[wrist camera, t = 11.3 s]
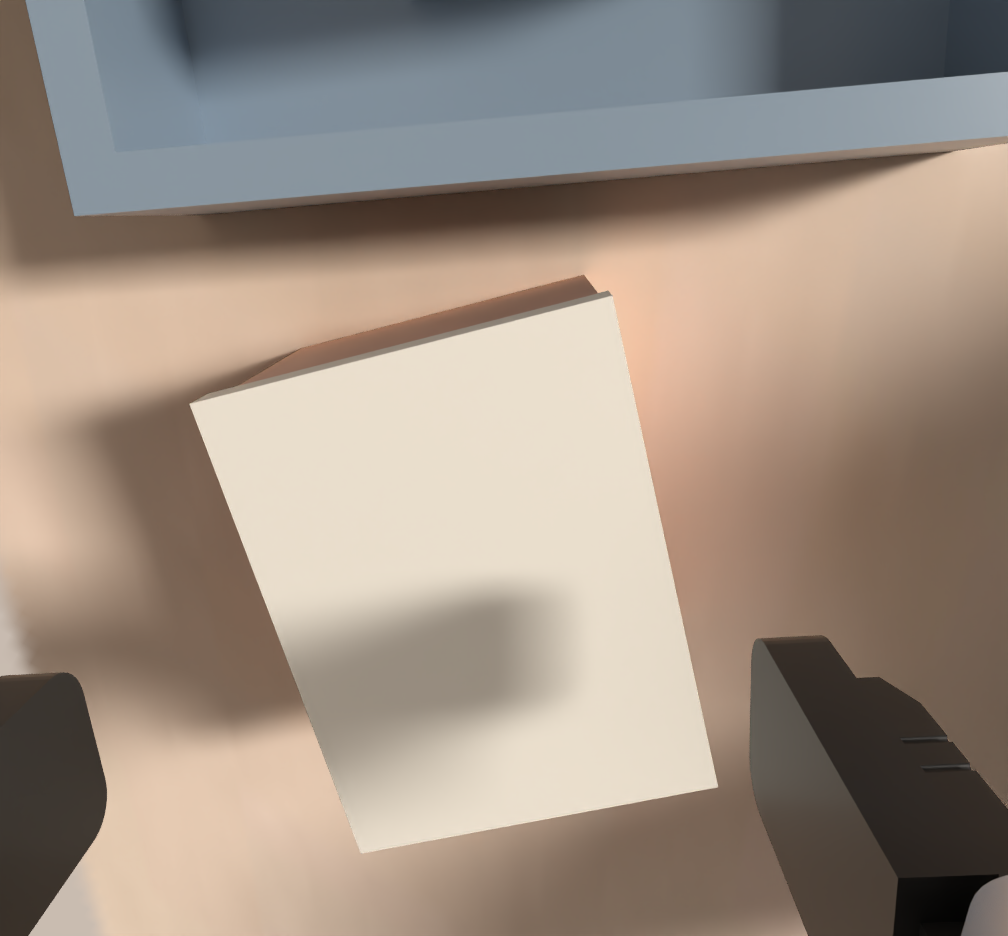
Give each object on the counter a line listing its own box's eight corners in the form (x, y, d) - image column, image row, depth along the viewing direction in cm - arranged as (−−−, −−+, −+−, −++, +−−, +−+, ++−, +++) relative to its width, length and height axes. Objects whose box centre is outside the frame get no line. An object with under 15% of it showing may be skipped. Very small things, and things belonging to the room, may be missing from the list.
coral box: (587, 267, 16) (612, 296, 11) (666, 624, 19) (718, 787, 13) (296, 343, 17) (190, 404, 12) (408, 678, 19) (360, 853, 14)
